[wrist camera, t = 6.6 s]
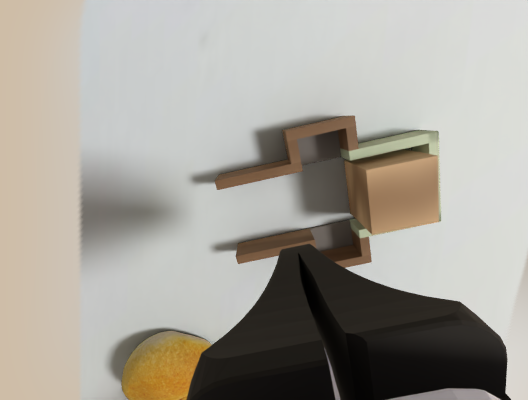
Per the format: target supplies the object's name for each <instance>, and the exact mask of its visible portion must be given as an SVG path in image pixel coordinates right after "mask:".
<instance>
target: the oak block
mask: <svg viewBox="0 0 528 400" xmlns="http://www.w3.org/2000/svg"><path fill="white" fill-rule="evenodd" d="M344 163H345V172H346V180H347V189H348V198H349V206H350V213H351V214H352V215H353V216H354V217H355V218H356V219H357V220H358V221H359V222H360V223H361V224H362V225H363V226H364V227H365V228H366V229H367V230H368V231H369V232H370V233H371V234H372V235H374V234H379V233H385V232H390V231H395V230H400V229H405V228H410V227H415V226H420V225H425V224H430V223H436V222H439V194H438V156H437V155H432V154H427V153H422V152H416V151H411V150H406V149H401V150H396V151H392V152H387V153H383V154H378V155H374V156H369V157H365V158H360V159H355V160H351V161H350V160H344Z"/></svg>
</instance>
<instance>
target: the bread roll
mask: <svg viewBox="0 0 528 400" xmlns="http://www.w3.org/2000/svg"><path fill="white" fill-rule="evenodd" d="M210 346H211V343H209V342H208V341H207V340H205V339H202V338H199V337H196V336H192V335H188V334H183V333H179V332H175V331H165V332H160V333H157V334H155V335H153V336H151V337H149V338H147V339H146V340H144V341H143V342H142V343H141V344H140V345H138V346H137V348H136V349H135V350H134V351H133V352H132V353H131V355H130V357H129V359H128V360H127V362H126V364H125V367H124V370H123V376H122V390H123V392H124V394H125V396H126V397H127V398H128V399H129V400H186V399H187V395H188V391H189V387H190V383H191V380H192V377H193V374H194V371H195V368H196V366H197V364H198V361H199V358H200V355H201V353H202V352H203V351H205V350H206V349H207V348H209V347H210Z"/></svg>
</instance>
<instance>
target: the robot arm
mask: <svg viewBox="0 0 528 400" xmlns="http://www.w3.org/2000/svg"><path fill="white" fill-rule="evenodd" d="M506 371H507V353H506V347H505V345H504V343H503V341H502V339H501V337H500V336H499V335H498V334H497V333H496V332H494V331H493V330H492V329H491V328H490V327H489V326H488V325H487V324H486V323H485V322H484V321H482V320H481V319H480V318H479V317H478V316H477V315H476V314H475V313H473V312H472V311H471V310H470V309H468V308H467V307H466V306H465V305H463V304H462V303H461V302H458V301H452V300H446V299H439V298H433V297H427V296H422V295H417V294H413V293H409V292H404V291H401V290H397V289H394V288H390V287H387V286H384V285H381V284H378V283H376V282H373V281H370V280H368V279H366V278H363V277H361V276H359V275H357V274H355V273H353V272H351V271H349V270H347V269H345V268H343V267H342V266H340V265H338V264H337V263H335V262H334V261H332V260H331V259H329V258H328V257H327V256H325V255H324V254H323V253H321V252H320V251H319V250H317V249H316V248H315V247H314V246H313V245H311V244H305V245H300V246H295V247H290V248H286V249H282V250H281V251H280V253H279V258H278V261H277V265H276V267H275V270H274V272H273V275H272V277H271V279H270V281H269V283H268V285H267V287H266V288H265V290H264V292H263V293H262V295H261V296H260V298H259V299H258V301H257V302H256V304H255V305H254V306H253V307H252V309H251V310H250V311H249V312H248V313H247V314H246V316H245V317H244V318H243V319H242V320H241V321H240V322H239V323H238V324H237V325H236V326H235V327H234V328H232V329H231V330H230V331H229V332H228V333H227V334H226V335H224V336H223V337H222V338H221V339H219V340H218V341H217V342H215V343H214V344H213V345H211V346H210V347H209V348H207V349H206V350H205V351H203V352H202V353H201V355H200V358H199V361H198V364H197V366H196V368H195V371H194V374H193V377H192V380H191V383H190V387H189V391H188V395H187V399H186V400H511V399H510V398H509V397H508V396H507V394H506V393H505V388H506Z"/></svg>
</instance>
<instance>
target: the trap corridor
mask: <svg viewBox="0 0 528 400" xmlns="http://www.w3.org/2000/svg"><path fill="white" fill-rule="evenodd" d="M282 132H283V137H284V142H285V147H286V152H287V157H288V159H287V160H283V161H278V162H274V163H269V164H265V165H260V166H256V167H251V168H247V169H242V170H238V171H233V172H229V173H225V174H220V175H219V176H218V177H217V178H216V180H215V184H216V187H217V190H220V189H224V188H229V187H233V186H238V185H243V184H247V183H252V182H256V181H261V180H265V179H270V178H274V177H279V176H283V175H288V174H292V173H297V172H301V171H303V170H302V165H307V164H311V163H316V162H320V161H325V160H329V159H334V158H338V157H343V158H345V159H347V160H350V161H351V160H355V159H360V158H365V157H369V156H374V155H378V154H383V153H387V152H392V151H396V150H401V149H405V148H410V147H411V149H412V151H416V152H422V153H427V154H432V155H437V156H438V194H439V222H440V221H441V203H440V169H439V134H438V131H427V130H417V131H413V132H408V133H404V134H399V135H395V136H390V137H386V138H381V139H377V140H372V141H368V142H363V143H359V144H358V140H357V131H356V122H355V116H342V117H338V118H333V119H329V120H325V121H320V122H316V123H311V124H307V125H303V126H298V127H294V128H289V129H285V130H282ZM430 224H431V223H430ZM425 225H426V224H425ZM420 226H421V225H420ZM415 227H416V226H415ZM410 228H412V227H410ZM405 229H407V228H405ZM400 230H402V229H400ZM395 231H397V230H395ZM390 232H393V231H390ZM385 233H388V232H385ZM379 234H383V233H379ZM374 235H378V234H374ZM369 236H373V235H372V234H371V233H370V232H369V231H368V230H367V229H366V228H365V227H364V226H363V225H362V224H361V223H360V222H359V221H358V220H357V219H356V218H355V219H350V220H346V221H341V222H336V223H331V224H327V225H322V226H317V227H313V228H308V229H303V230H299V231H294V232H289V233H285V234H280V235H275V236H270V237H266V238H261V239H256V240H252V241H247V242H242V243H238V246H237V252H236V259H237V262H238V264H240V263H245V262H250V261H255V260H259V259H264V258H269V257H274V256H278V255H279V253H280V251H281V250H282V249H286V248H290V247H295V246H300V245H305V244H311V245H313V246H314V247H315V248H316V249H317V250H319V251H320V252H321V253H323V254H324V255H325V256H327V257H328V258H329V259H331V260H332V261H334V262H335V263H337V264H338V265H340V266H342V267H343V268H346V267H350V266H355V265H360V264H365V263H370V262H372V261H371V252H370V244H369Z"/></svg>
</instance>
